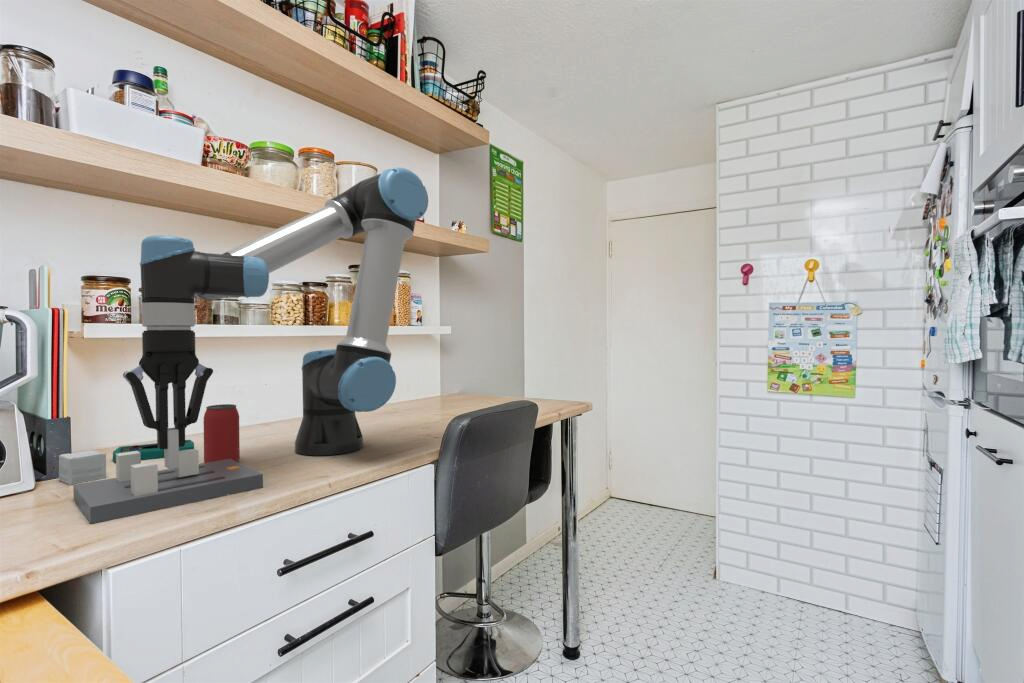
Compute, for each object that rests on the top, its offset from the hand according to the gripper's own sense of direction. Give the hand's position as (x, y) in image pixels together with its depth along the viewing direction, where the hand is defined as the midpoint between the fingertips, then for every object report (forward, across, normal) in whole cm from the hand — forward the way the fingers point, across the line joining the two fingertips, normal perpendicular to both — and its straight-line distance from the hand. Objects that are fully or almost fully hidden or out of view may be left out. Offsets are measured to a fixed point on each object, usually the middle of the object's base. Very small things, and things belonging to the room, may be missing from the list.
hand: (171, 466), depth 89 cm
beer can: (+5, -13, -16) cm, 21 cm away
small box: (+5, +9, -22) cm, 24 cm away
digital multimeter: (+5, -5, -34) cm, 35 cm away
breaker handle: (+2, -2, 0) cm, 3 cm away
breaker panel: (+5, 0, 0) cm, 5 cm away
